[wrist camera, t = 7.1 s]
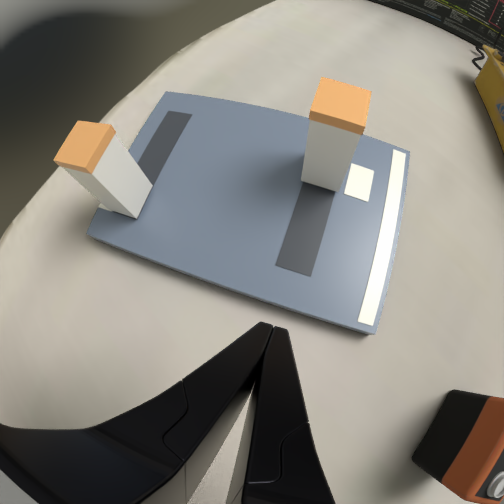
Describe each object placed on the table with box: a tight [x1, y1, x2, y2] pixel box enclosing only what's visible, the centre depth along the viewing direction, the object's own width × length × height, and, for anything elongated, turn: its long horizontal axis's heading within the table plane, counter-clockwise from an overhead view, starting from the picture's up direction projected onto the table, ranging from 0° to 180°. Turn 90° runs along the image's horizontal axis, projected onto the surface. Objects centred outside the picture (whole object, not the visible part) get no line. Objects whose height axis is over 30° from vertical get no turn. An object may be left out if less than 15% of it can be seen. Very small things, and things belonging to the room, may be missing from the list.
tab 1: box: [54, 121, 153, 219], centre depth 20 cm, size 3×3×8 cm
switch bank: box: [86, 92, 410, 335], centre depth 24 cm, size 16×24×2 cm, turn 71°
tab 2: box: [301, 77, 371, 192], centre depth 19 cm, size 3×3×8 cm
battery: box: [412, 390, 504, 504], centre depth 14 cm, size 4×7×10 cm, turn 148°
